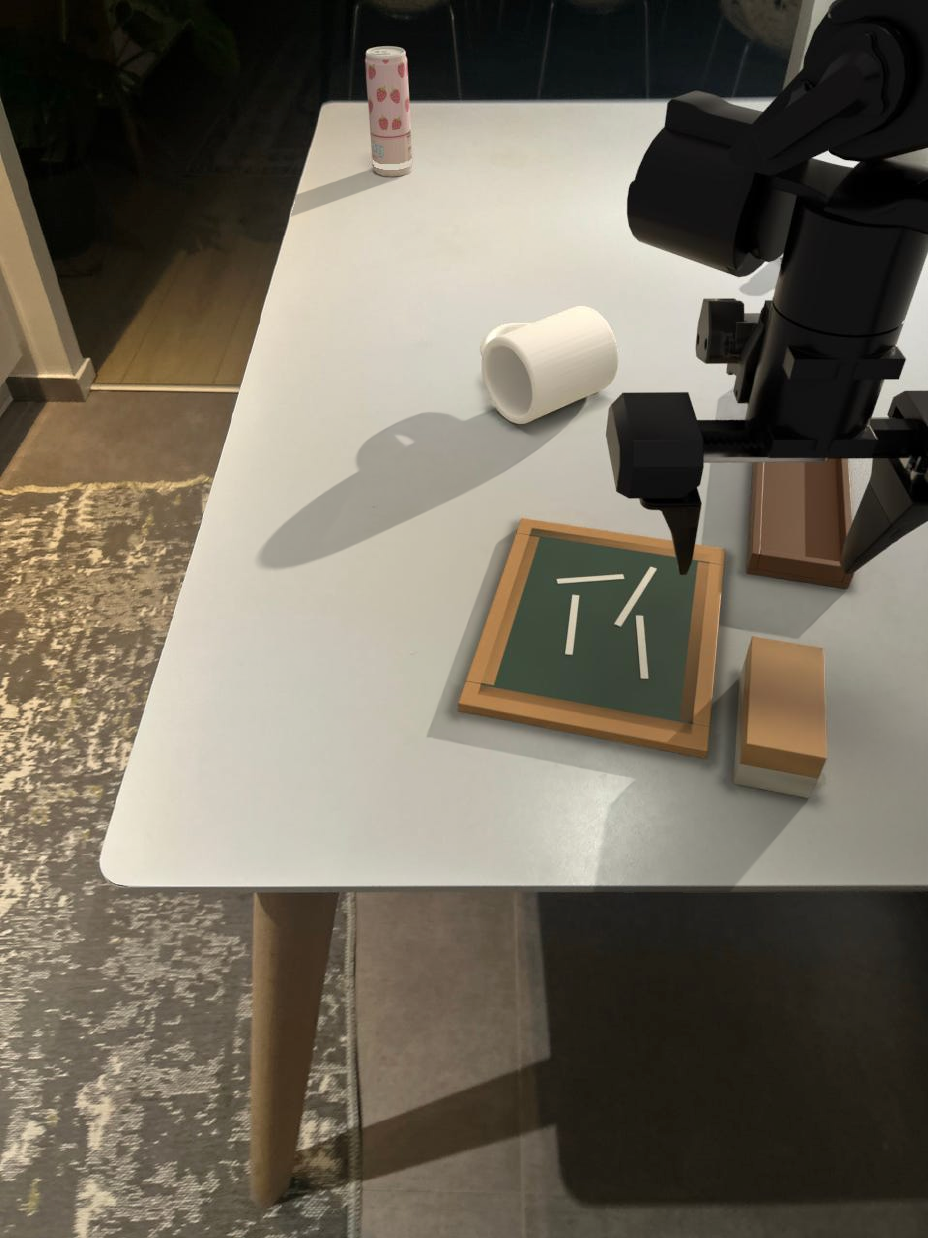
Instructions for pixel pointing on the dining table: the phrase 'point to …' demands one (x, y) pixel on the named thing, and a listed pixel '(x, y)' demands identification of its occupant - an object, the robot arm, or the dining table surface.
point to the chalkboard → (601, 638)
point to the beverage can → (389, 108)
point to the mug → (548, 363)
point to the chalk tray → (800, 521)
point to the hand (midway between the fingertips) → (763, 569)
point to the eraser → (781, 718)
